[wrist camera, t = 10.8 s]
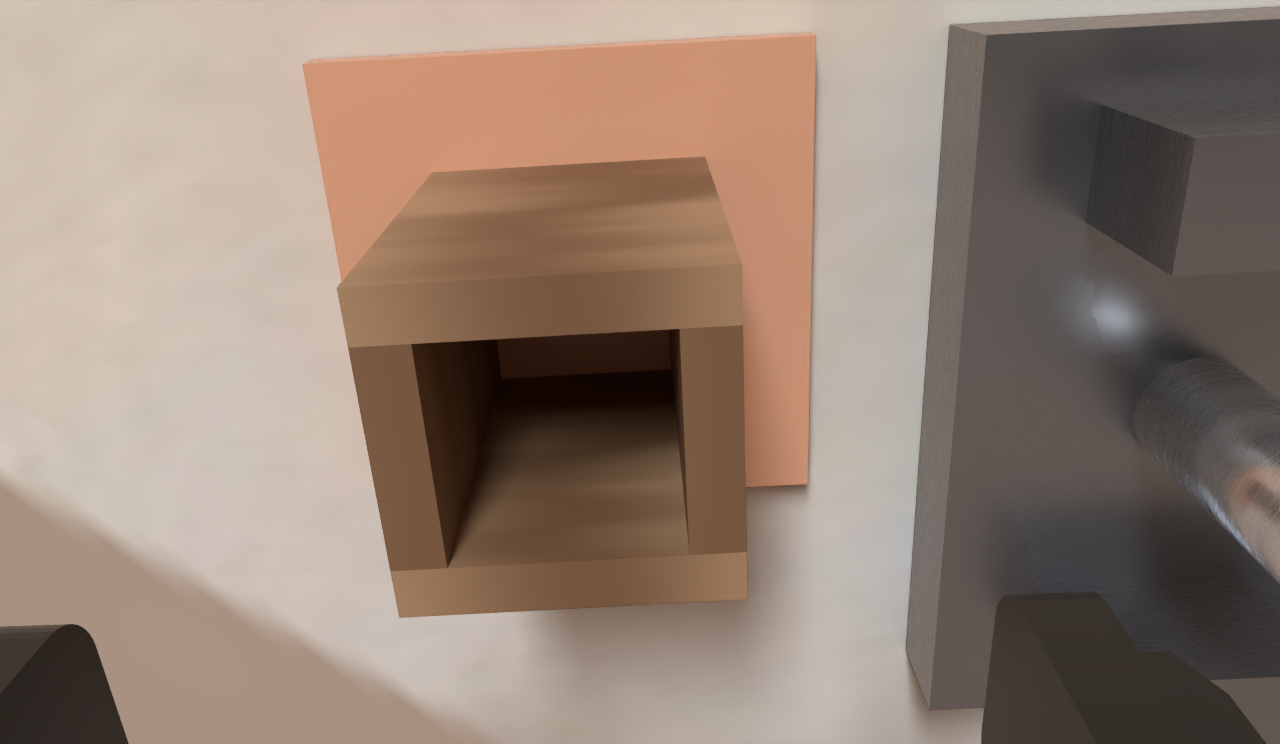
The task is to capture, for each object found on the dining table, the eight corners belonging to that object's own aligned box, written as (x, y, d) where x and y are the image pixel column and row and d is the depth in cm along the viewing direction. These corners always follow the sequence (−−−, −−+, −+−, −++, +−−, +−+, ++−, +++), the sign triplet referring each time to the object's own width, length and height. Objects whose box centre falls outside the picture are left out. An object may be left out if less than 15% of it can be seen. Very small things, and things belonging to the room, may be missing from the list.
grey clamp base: (1455, -3, 18) (2037, 39, 10) (1289, 630, 23) (1590, 949, 16) (949, 24, 18) (1173, 86, 10) (906, 649, 23) (1031, 973, 16)
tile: (810, 32, 18) (816, 35, 17) (802, 470, 21) (807, 483, 21) (311, 59, 18) (302, 63, 17) (388, 490, 22) (382, 505, 21)
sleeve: (705, 156, 18) (741, 264, 12) (711, 403, 20) (747, 599, 14) (432, 172, 18) (336, 288, 12) (467, 416, 20) (399, 617, 14)
